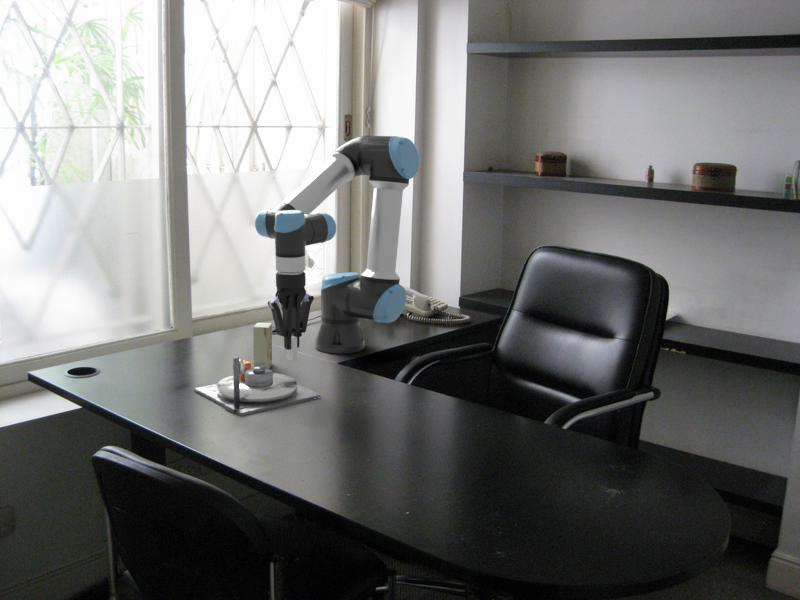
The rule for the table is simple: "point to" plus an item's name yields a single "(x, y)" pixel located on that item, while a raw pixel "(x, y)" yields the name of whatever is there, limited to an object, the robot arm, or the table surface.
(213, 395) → the turntable base
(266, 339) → the skincare box
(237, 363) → the post
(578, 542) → the table surface
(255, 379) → the cover
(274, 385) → the platter
